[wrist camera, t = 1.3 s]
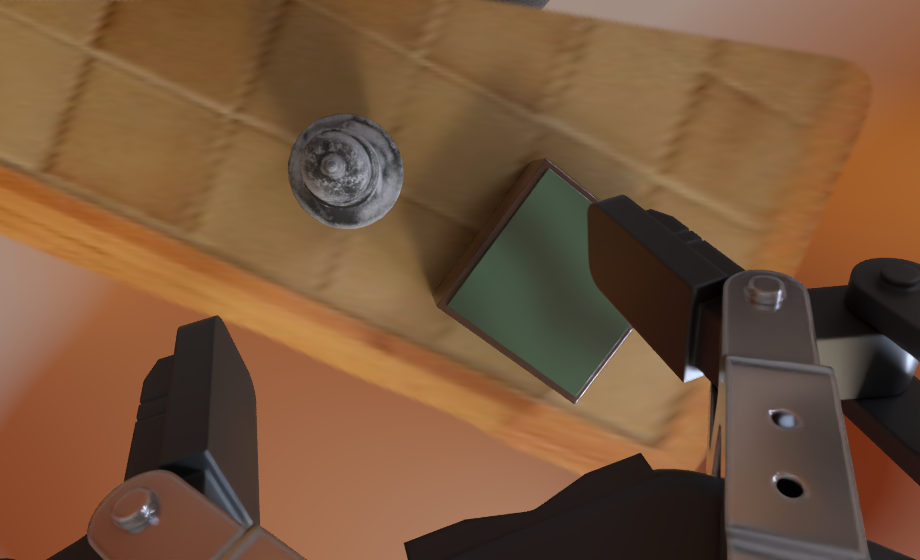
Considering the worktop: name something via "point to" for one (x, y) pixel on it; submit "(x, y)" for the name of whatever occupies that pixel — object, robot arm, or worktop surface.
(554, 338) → the walnut stand
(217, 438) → the robot arm
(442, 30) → the worktop surface
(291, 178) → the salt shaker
